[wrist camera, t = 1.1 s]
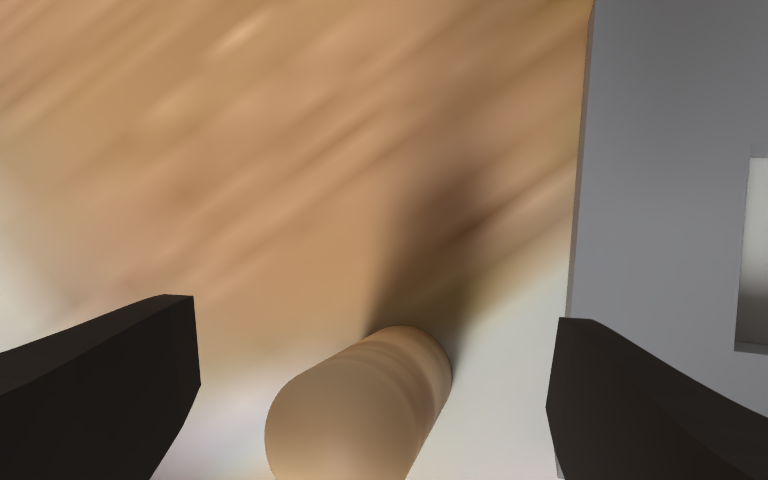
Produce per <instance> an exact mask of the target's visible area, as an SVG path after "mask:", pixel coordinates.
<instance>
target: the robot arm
mask: <svg viewBox="0 0 768 480" xmlns="http://www.w3.org/2000/svg"><path fill="white" fill-rule="evenodd" d="M200 386H201V380H200V368H199V357H198V345H197V333H196V322H195V310H194V298H193V296H185V295H168V294H163V295H158V296H154V297H150V298H147V299H144V300H141V301H138V302H136V303H133V304H130V305H128V306H125V307H122V308H120V309H117V310H115V311H112V312H110V313H107V314H104V315H102V316H99V317H97V318H94V319H92V320H89V321H87V322H84V323H82V324H79V325H77V326H74V327H72V328H69V329H66V330H63V331H61V332H58V333H55V334H52V335H50V336H47V337H44V338H41V339H39V340H36V341H33V342H30V343H28V344H25V345H22V346H19V347H17V348H14V349H11V350H8V351H5V352H2V353H0V480H149V479H150V478H151V476H152V475H153V473H154V472H155V470H156V468H157V467H158V465H159V464H160V462H161V461H162V459H163V457H164V456H165V454H166V453H167V451H168V449H169V448H170V446H171V445H172V443H173V441H174V440H175V438H176V437H177V435H178V433H179V432H180V430H181V428H182V426H183V424H184V422H185V420H186V418H187V416H188V414H189V411H190V409H191V407H192V405H193V402H194V400H195V398H196V395H197V393H198V391H199V388H200ZM546 412H547V417H548V422H549V427H550V432H551V436H552V440H553V445H554V449H555V453H556V456H557V459H558V462H559V465H560V468H561V470H562V473H563V476H564V479H565V480H768V418H767V417H765V416H763V415H761V414H759V413H757V412H755V411H752V410H750V409H748V408H746V407H744V406H742V405H740V404H738V403H736V402H734V401H732V400H730V399H729V398H727V397H725V396H723V395H721V394H719V393H718V392H716V391H714V390H712V389H710V388H708V387H707V386H705V385H703V384H701V383H699V382H698V381H696V380H694V379H692V378H691V377H689V376H687V375H685V374H684V373H682V372H680V371H679V370H677V369H675V368H674V367H672V366H670V365H669V364H667V363H665V362H664V361H662V360H660V359H659V358H657V357H656V356H654V355H652V354H651V353H649V352H647V351H646V350H644V349H643V348H641V347H639V346H638V345H636V344H635V343H633V342H632V341H630V340H628V339H627V338H625V337H624V336H622V335H620V334H619V333H617V332H615V331H614V330H612V329H610V328H609V327H607V326H605V325H603V324H601V323H599V322H597V321H595V320H593V319H584V318H566V317H559V322H558V329H557V335H556V342H555V349H554V355H553V362H552V368H551V375H550V382H549V388H548V395H547V401H546Z"/></svg>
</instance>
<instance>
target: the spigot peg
mask: <svg viewBox="0 0 768 480" xmlns="http://www.w3.org/2000/svg"><path fill="white" fill-rule="evenodd" d="M451 385H452V371H451V366H450V362H449V359H448V357H447V355H446V353H445V351H444V349H443V348H442V347H441V345H440V344H439V343H438V342H437V341H436V340H435V339H434V338H433V337H432V336H431V335H429V334H428V333H426V332H425V331H423V330H421V329H418V328H415V327H412V326H407V325H394V326H389V327H386V328H383V329H381V330H379V331H377V332H375V333H374V334H372V335H370V336H368V337H366V338H364V339H363V340H361V341H359V342H357V343H355V344H354V345H352V346H350V347H348V348H346V349H345V350H343V351H341V352H339V353H337V354H335V355H334V356H332V357H330V358H328V359H326V360H325V361H323V362H321V363H319V364H317V365H316V366H314V367H312V368H310V369H308V370H307V371H305V372H303V373H301V374H299V375H297V376H296V377H294V378H293V379H292V380H290V381H289V382H288V383H287V384H286V385H285V386H284V387H283V388H282V389H281V390H280V392H279V393H278V394H277V396H276V397H275V399H274V401H273V403H272V405H271V407H270V410H269V412H268V416H267V420H266V425H265V450H266V455H267V459H268V462H269V465H270V468H271V471H272V473H273V475H274V477H275V479H276V480H405V478H406V476H407V474H408V472H409V470H410V469H411V467H412V465H413V463H414V461H415V459H416V457H417V455H418V454H419V452H420V450H421V448H422V446H423V444H424V442H425V440H426V439H427V437H428V435H429V433H430V431H431V429H432V427H433V425H434V424H435V422H436V420H437V418H438V416H439V414H440V412H441V410H442V409H443V407H444V405H445V403H446V401H447V399H448V396H449V394H450V390H451Z"/></svg>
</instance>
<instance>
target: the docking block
mask: <svg viewBox="0 0 768 480" xmlns="http://www.w3.org/2000/svg"><path fill="white" fill-rule="evenodd" d="M749 157H757V158H768V0H594V4H593V8H592V11H591V15H590V19H589V23H588V35H587V48H586V60H585V73H584V85H583V98H582V110H581V123H580V135H579V148H578V160H577V173H576V185H575V198H574V210H573V223H572V235H571V248H570V261H569V273H568V286H567V298H566V311H565V317H566V318H584V319H593V320H595V321H597V322H599V323H601V324H603V325H605V326H607V327H609V328H610V329H612V330H614V331H615V332H617V333H619V334H620V335H622V336H624V337H625V338H627V339H628V340H630V341H632V342H633V343H635V344H636V345H638V346H639V347H641V348H643V349H644V350H646V351H647V352H649V353H651V354H652V355H654V356H656V357H657V358H659V359H660V360H662V361H664V362H665V363H667V364H669V365H670V366H672V367H674V368H675V369H677V370H679V371H680V372H682V373H684V374H685V375H687V376H689V377H691V378H692V379H694V380H696V381H698V382H699V383H701V384H703V385H705V386H707V387H708V388H710V389H712V390H714V391H716V392H718V393H719V394H721V395H723V396H725V397H727V398H729V399H730V400H732V401H734V402H736V403H738V404H740V405H742V406H744V407H746V408H748V409H750V410H752V411H755V412H757V413H759V414H761V415H763V416H765V417H767V418H768V345H763V344H754V343H745V342H736V341H735V329H736V316H737V304H738V292H739V280H740V267H741V255H742V243H743V231H744V218H745V206H746V194H747V181H748V169H749ZM554 452H555V449H554ZM555 460H556V468H557V475H558V478H561V479H564V476H563V473H562V470H561V468H560V465H559V462H558V459H557V456H556V453H555Z"/></svg>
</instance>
